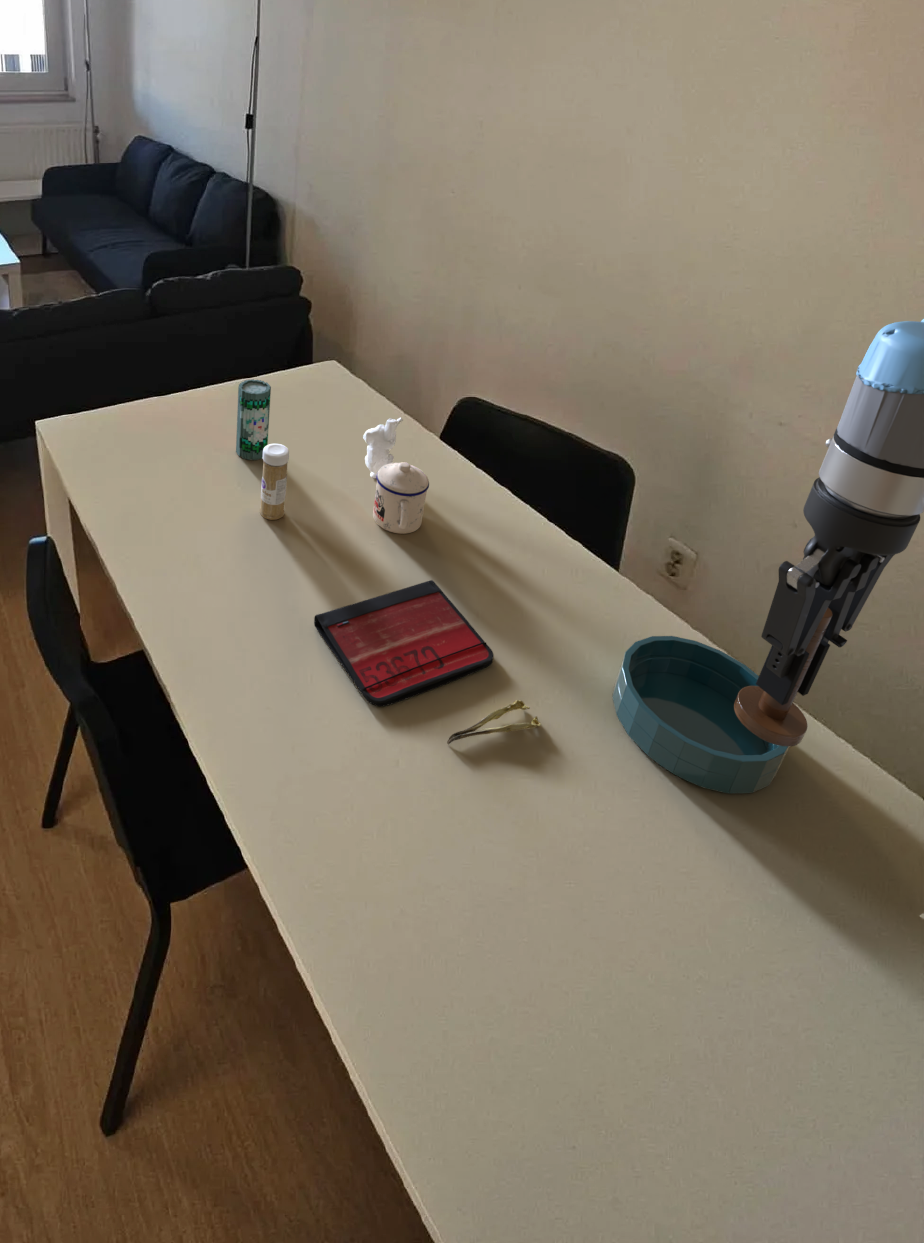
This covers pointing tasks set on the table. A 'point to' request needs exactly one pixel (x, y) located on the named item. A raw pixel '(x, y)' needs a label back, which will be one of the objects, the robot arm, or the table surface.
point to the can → (252, 418)
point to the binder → (403, 643)
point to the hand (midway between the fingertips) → (781, 688)
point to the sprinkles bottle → (274, 481)
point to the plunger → (778, 704)
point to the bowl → (693, 714)
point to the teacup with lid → (400, 497)
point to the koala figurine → (380, 445)
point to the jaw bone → (495, 715)
